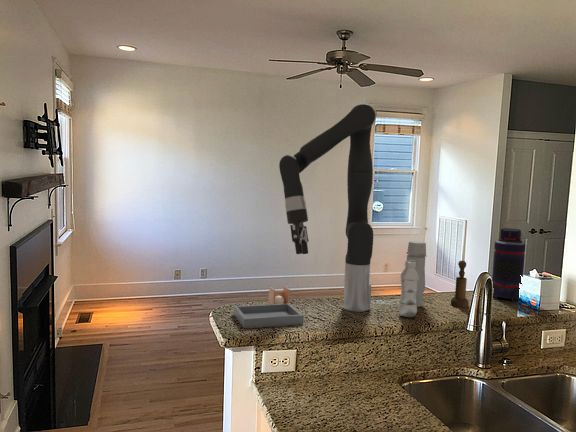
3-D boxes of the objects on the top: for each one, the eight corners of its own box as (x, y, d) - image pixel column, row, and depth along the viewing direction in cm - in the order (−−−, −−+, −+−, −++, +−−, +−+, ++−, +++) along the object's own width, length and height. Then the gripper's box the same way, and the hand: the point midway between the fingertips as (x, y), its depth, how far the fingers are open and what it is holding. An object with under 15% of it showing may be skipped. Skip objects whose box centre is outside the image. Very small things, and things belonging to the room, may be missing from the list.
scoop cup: (283, 305, 175) (284, 285, 174) (289, 309, 169) (289, 289, 169) (268, 306, 173) (269, 286, 173) (273, 310, 167) (274, 290, 167)
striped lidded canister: (520, 303, 191) (525, 231, 189) (489, 298, 197) (494, 228, 195) (522, 296, 203) (527, 228, 201) (493, 292, 209) (497, 226, 207)
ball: (282, 304, 174) (282, 294, 173) (285, 307, 170) (286, 296, 170) (272, 305, 172) (272, 294, 172) (275, 308, 169) (275, 297, 168)
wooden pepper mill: (470, 305, 185) (473, 260, 184) (466, 308, 180) (469, 262, 178) (452, 302, 189) (455, 258, 187) (449, 305, 183) (451, 260, 182)
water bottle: (413, 309, 176) (417, 243, 174) (399, 303, 183) (402, 241, 181) (430, 306, 181) (434, 243, 179) (416, 301, 188) (419, 240, 186)
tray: (288, 311, 167) (288, 303, 166) (303, 324, 153) (303, 315, 152) (233, 314, 160) (234, 306, 160) (244, 328, 146) (244, 319, 146)
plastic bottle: (414, 314, 169) (418, 260, 167) (418, 319, 162) (421, 263, 161) (396, 313, 170) (399, 259, 168) (399, 318, 163) (402, 262, 161)
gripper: (301, 206, 161) (307, 252, 159) (310, 209, 175) (317, 252, 173) (280, 210, 163) (287, 255, 161) (291, 213, 177) (297, 255, 175)
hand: (302, 253), depth 167 cm, fingers open, 8 cm apart
